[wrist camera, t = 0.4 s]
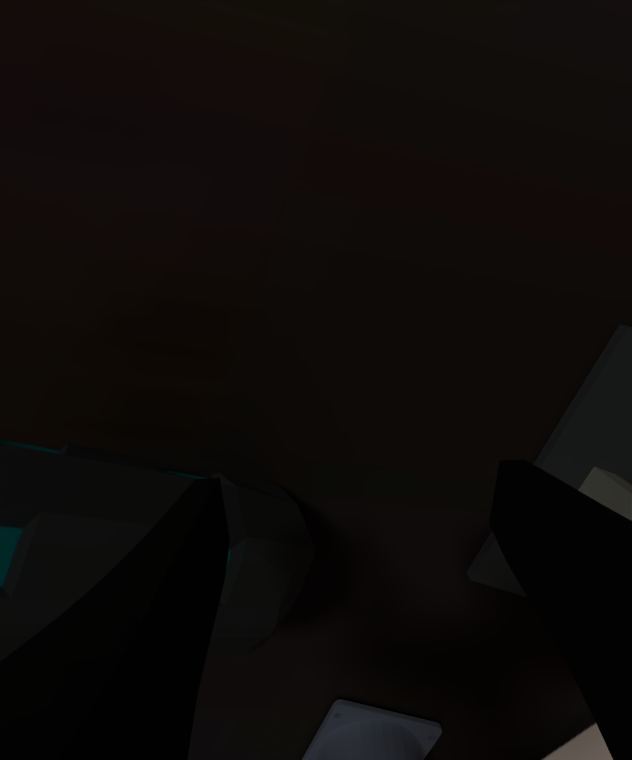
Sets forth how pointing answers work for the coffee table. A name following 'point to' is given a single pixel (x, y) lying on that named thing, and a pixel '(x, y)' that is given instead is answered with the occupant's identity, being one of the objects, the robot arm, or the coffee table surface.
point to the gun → (135, 539)
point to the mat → (580, 444)
